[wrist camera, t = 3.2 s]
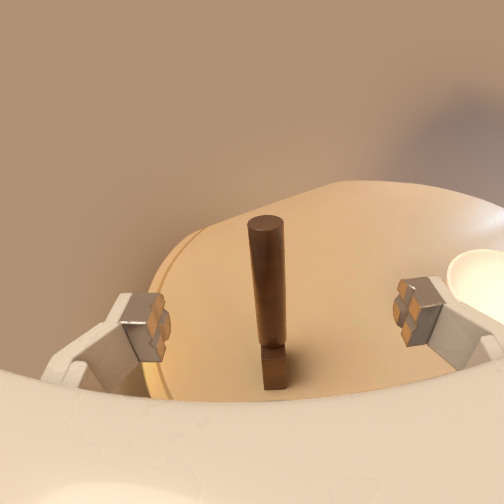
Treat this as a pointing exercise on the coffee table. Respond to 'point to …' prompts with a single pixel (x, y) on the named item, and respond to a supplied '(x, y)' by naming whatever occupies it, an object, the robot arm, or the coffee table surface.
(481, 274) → the bowl
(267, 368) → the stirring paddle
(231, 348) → the coffee table surface
